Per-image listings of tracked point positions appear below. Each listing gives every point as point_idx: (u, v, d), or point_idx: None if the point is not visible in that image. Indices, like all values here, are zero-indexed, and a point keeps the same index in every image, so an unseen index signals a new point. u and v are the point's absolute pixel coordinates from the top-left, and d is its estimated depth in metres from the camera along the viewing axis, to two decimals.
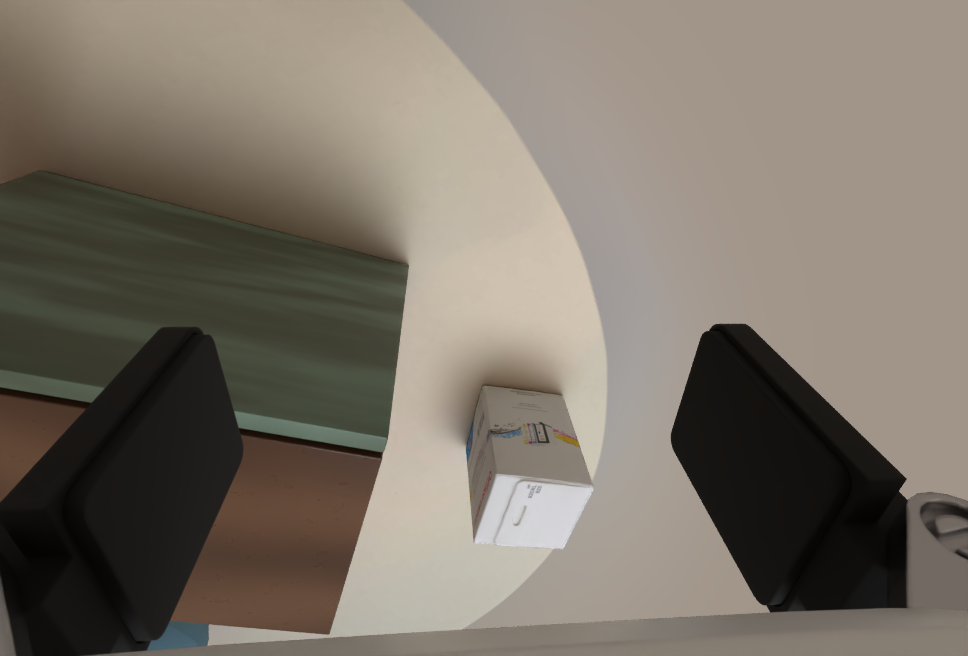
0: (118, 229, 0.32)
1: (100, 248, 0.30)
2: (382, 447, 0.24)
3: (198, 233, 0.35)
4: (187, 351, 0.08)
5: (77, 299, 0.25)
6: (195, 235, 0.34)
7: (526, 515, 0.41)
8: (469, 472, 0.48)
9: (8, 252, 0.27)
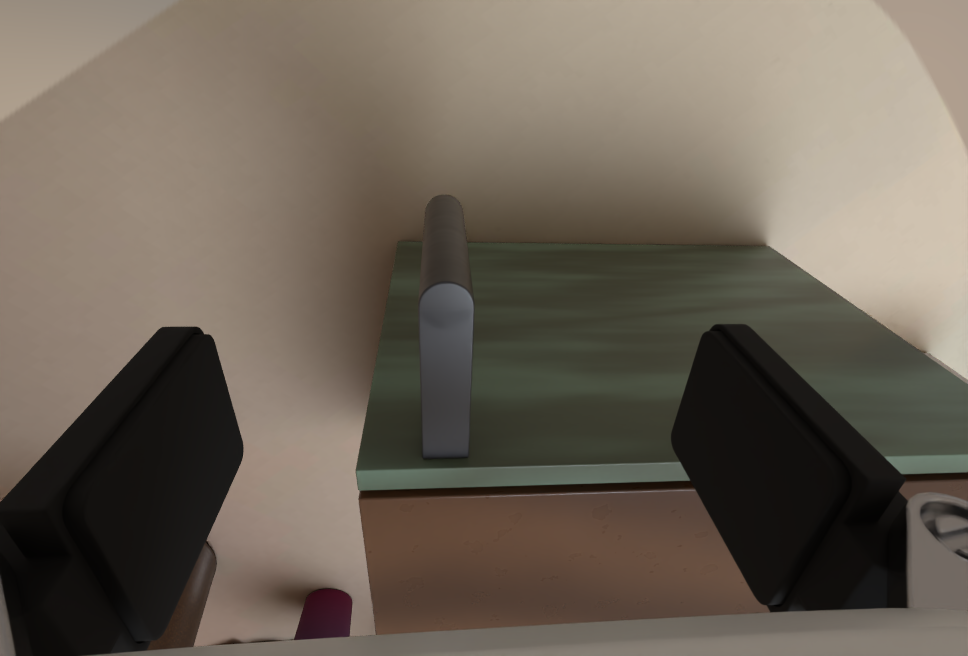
0: (526, 280, 0.29)
1: (541, 304, 0.27)
2: None
3: (582, 265, 0.32)
4: (187, 351, 0.08)
5: (602, 364, 0.23)
6: (583, 268, 0.31)
7: None
8: None
9: (491, 331, 0.24)
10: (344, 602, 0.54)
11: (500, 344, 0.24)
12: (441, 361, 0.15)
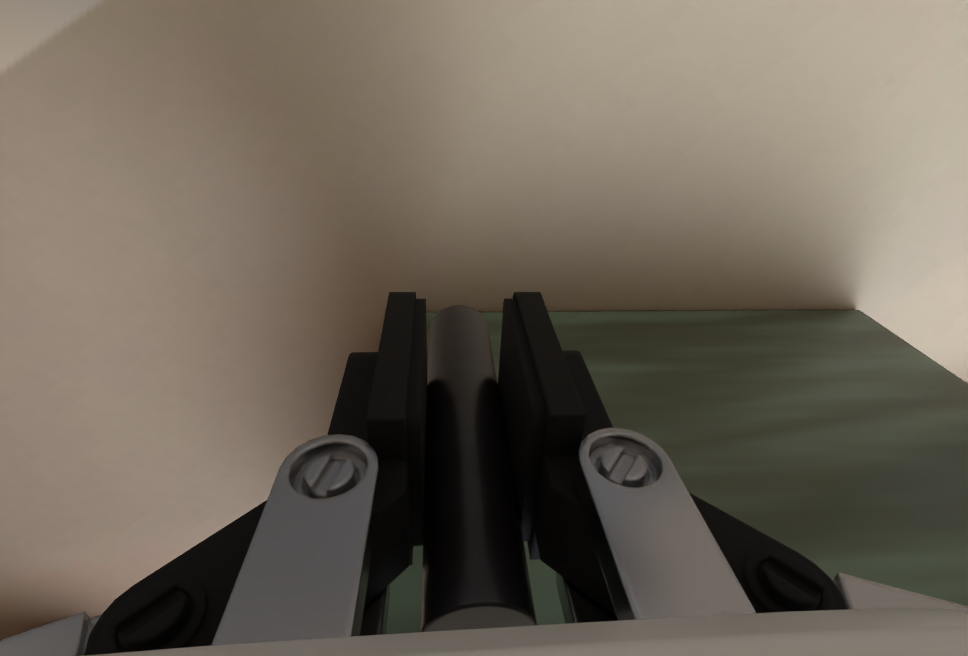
0: None
1: None
2: None
3: (632, 348, 0.24)
4: (419, 311, 0.09)
5: None
6: (634, 352, 0.24)
7: None
8: None
9: None
10: None
11: None
12: None
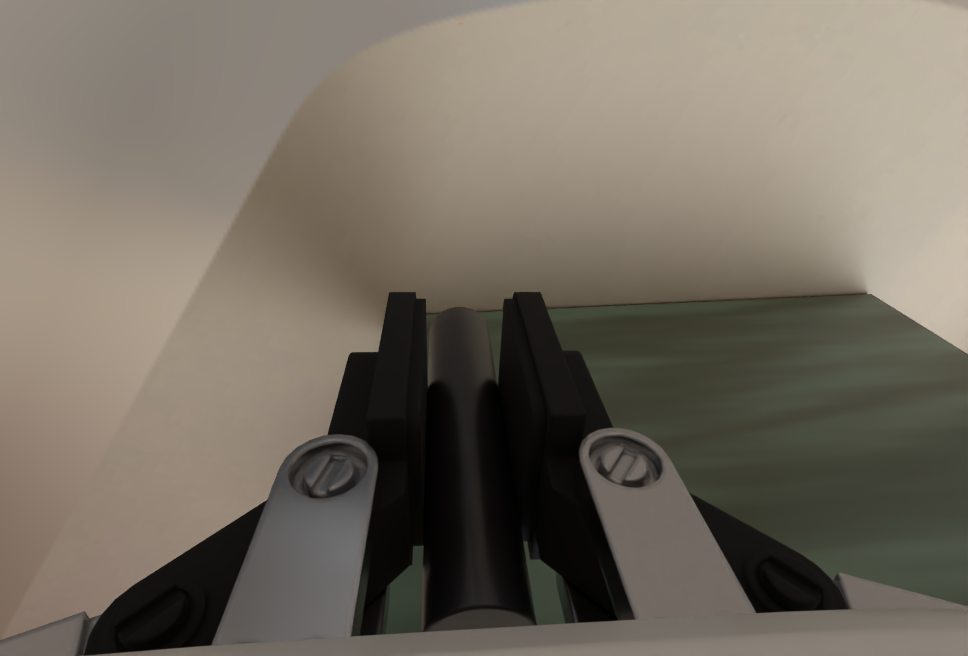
0: None
1: None
2: None
3: (639, 341, 0.24)
4: (419, 311, 0.09)
5: None
6: (641, 346, 0.24)
7: None
8: None
9: None
10: None
11: None
12: None
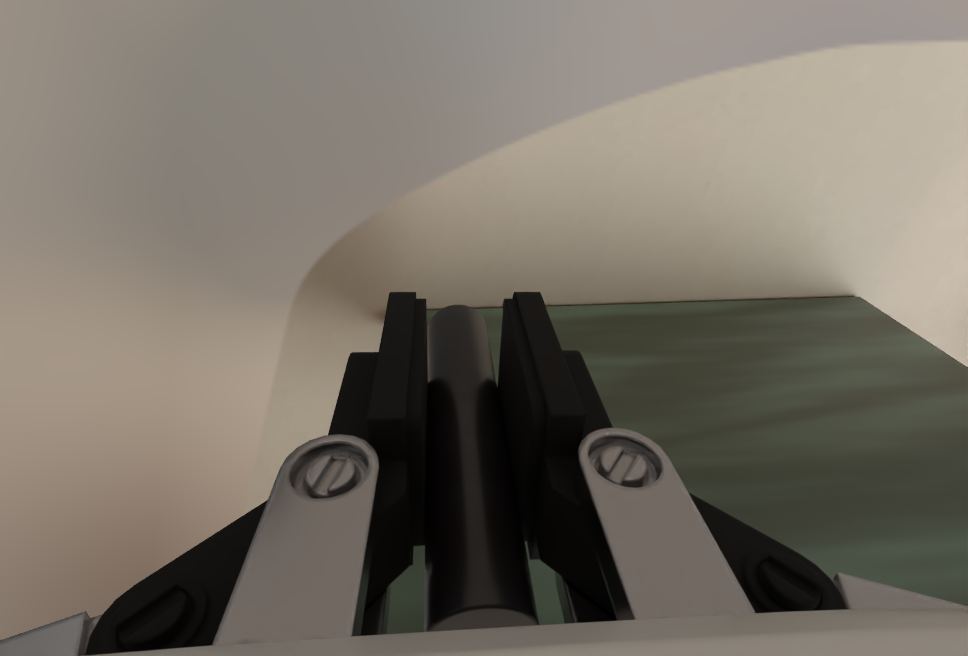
0: None
1: None
2: None
3: (632, 341, 0.24)
4: (420, 311, 0.09)
5: None
6: (634, 345, 0.24)
7: None
8: None
9: None
10: None
11: None
12: None
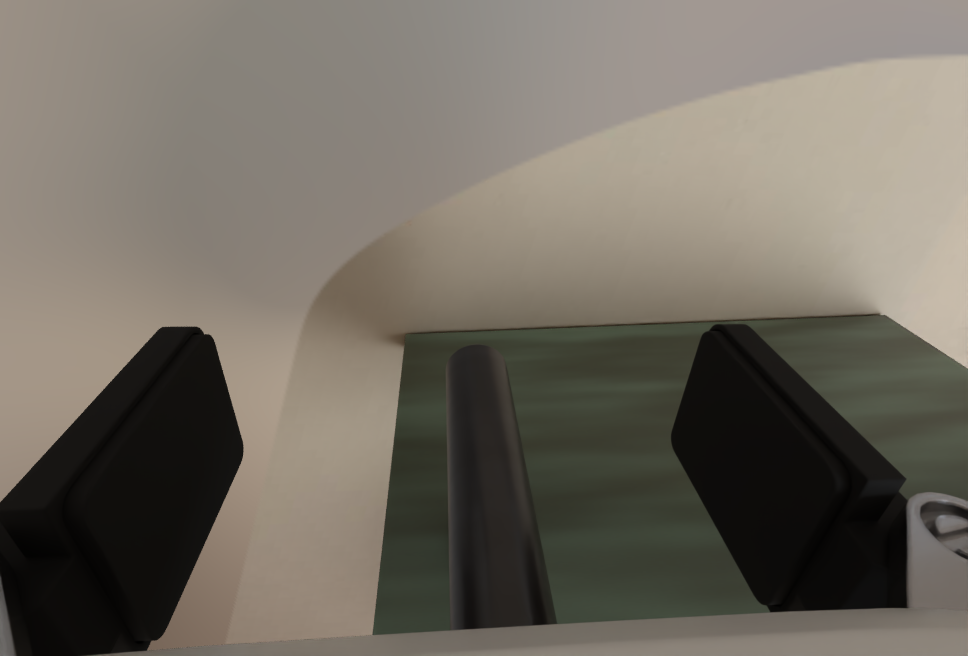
0: (581, 398, 0.22)
1: (610, 445, 0.19)
2: None
3: (651, 364, 0.24)
4: (187, 351, 0.08)
5: (726, 576, 0.15)
6: (654, 369, 0.23)
7: None
8: None
9: (546, 507, 0.17)
10: None
11: (564, 537, 0.16)
12: None
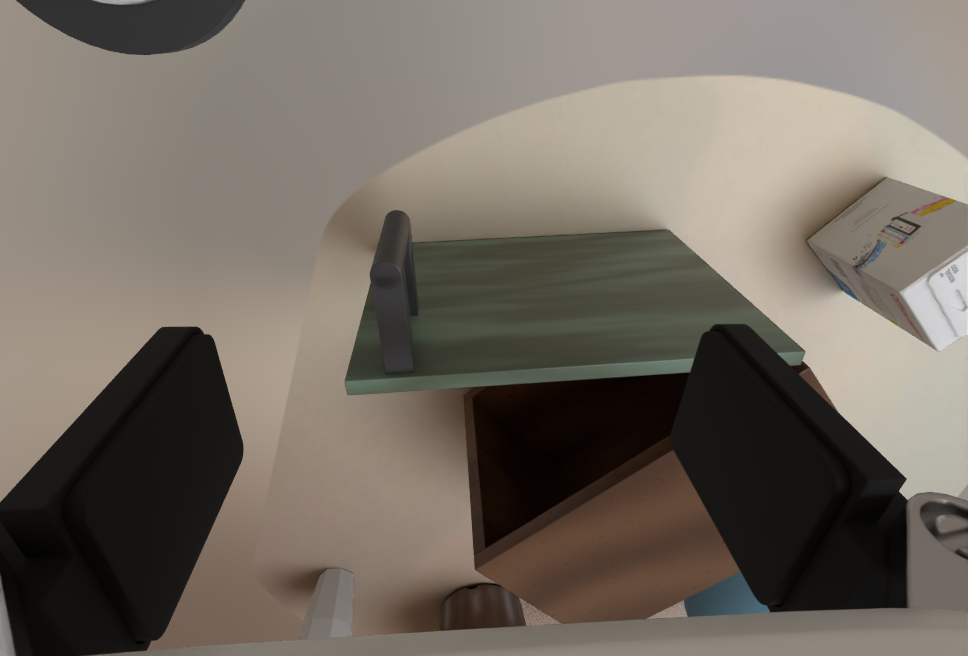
0: (472, 267, 0.40)
1: (480, 282, 0.38)
2: (800, 361, 0.29)
3: (517, 253, 0.42)
4: (187, 351, 0.08)
5: (512, 317, 0.33)
6: (517, 255, 0.42)
7: (965, 295, 0.38)
8: (870, 306, 0.47)
9: (440, 301, 0.35)
10: None
11: (445, 309, 0.34)
12: (387, 309, 0.26)
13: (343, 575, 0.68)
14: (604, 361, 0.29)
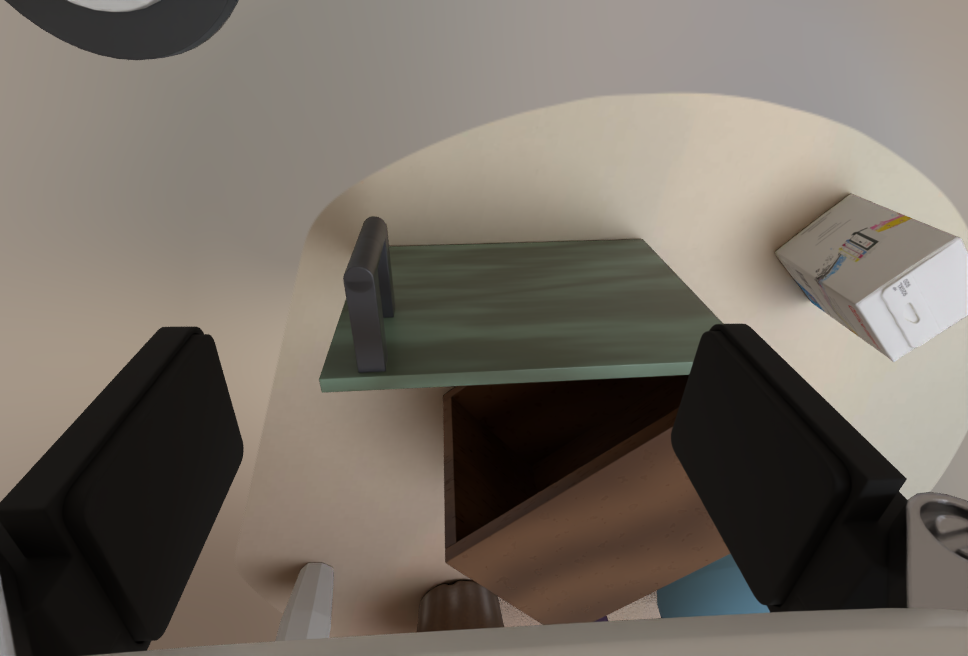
0: (450, 271, 0.42)
1: (456, 286, 0.39)
2: None
3: (494, 259, 0.44)
4: (187, 351, 0.08)
5: (484, 320, 0.35)
6: (494, 261, 0.43)
7: (918, 308, 0.40)
8: (833, 316, 0.49)
9: (416, 304, 0.37)
10: None
11: (421, 311, 0.36)
12: (360, 311, 0.27)
13: (323, 569, 0.69)
14: (567, 364, 0.30)
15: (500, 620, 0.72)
